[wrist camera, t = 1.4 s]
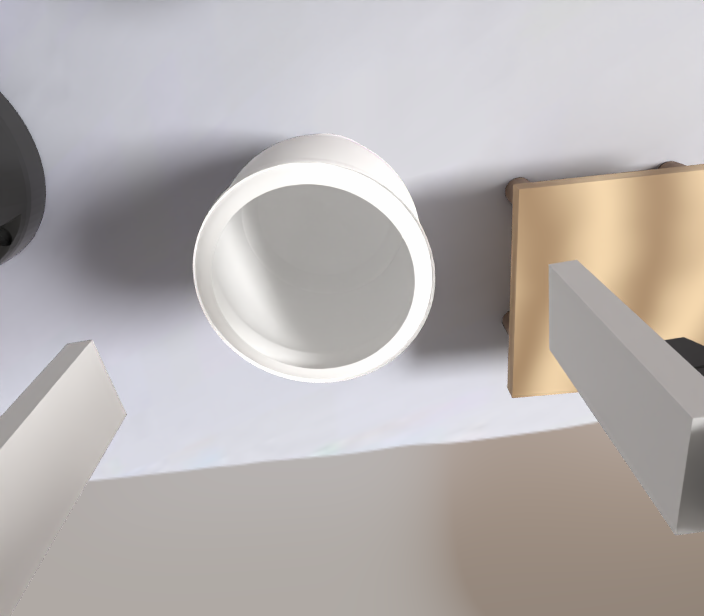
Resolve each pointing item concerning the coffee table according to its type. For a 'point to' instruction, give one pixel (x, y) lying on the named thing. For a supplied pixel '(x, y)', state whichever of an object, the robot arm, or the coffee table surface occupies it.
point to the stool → (605, 258)
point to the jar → (315, 261)
